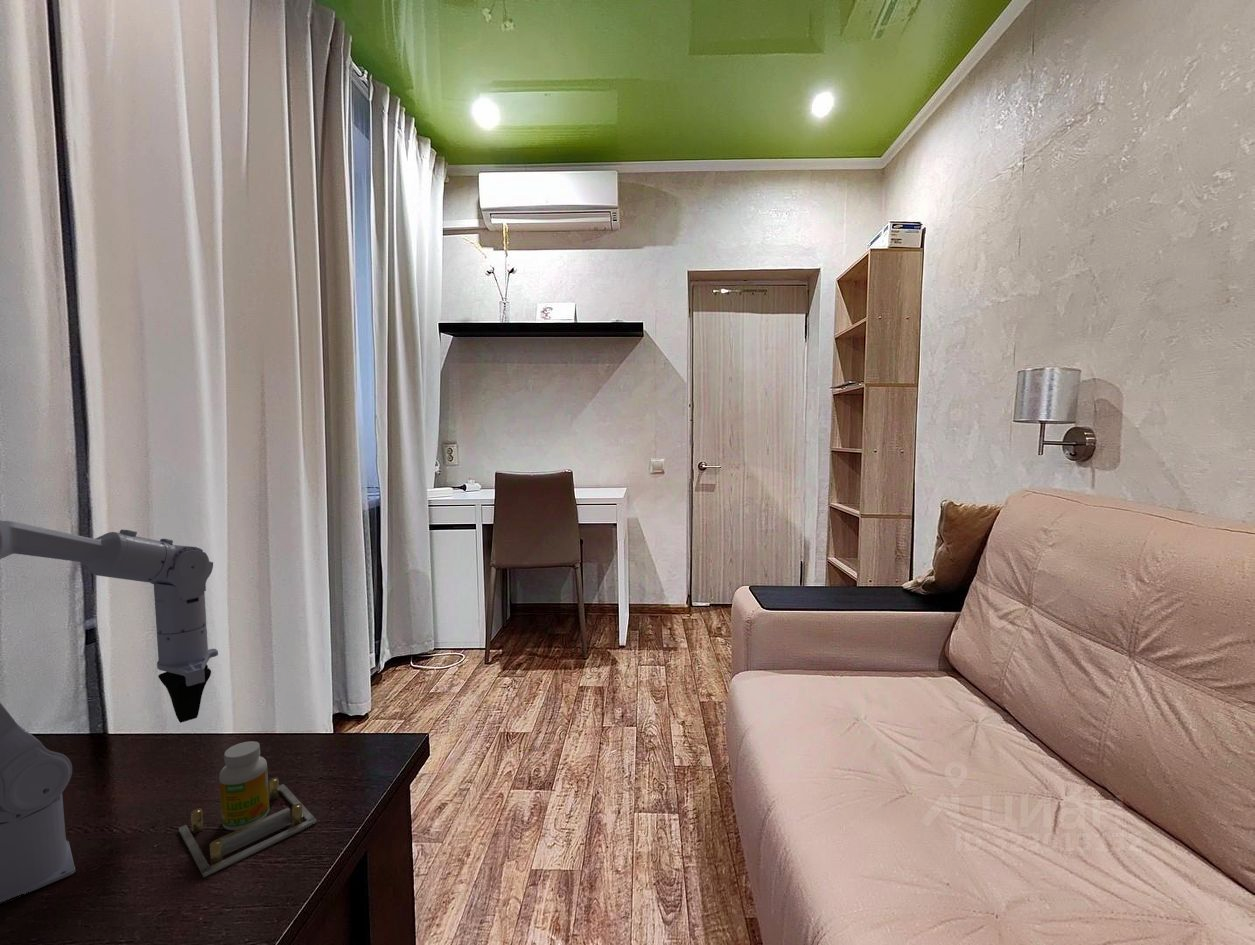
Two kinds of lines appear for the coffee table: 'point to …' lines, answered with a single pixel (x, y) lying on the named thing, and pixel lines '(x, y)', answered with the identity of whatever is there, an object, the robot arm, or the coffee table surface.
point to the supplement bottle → (243, 786)
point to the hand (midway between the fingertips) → (187, 718)
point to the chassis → (248, 832)
